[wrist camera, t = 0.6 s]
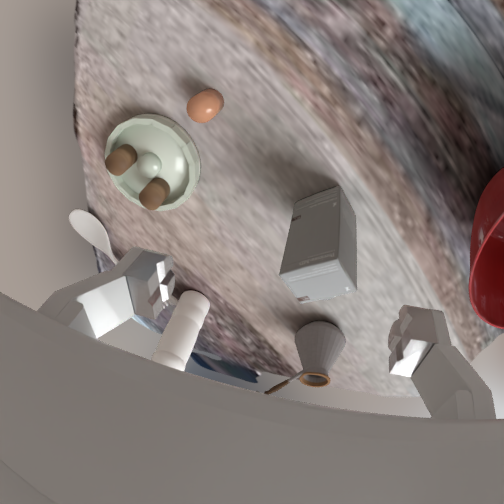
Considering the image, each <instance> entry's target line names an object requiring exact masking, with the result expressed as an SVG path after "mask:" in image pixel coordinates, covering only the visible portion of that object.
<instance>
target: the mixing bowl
mask: <svg viewBox="0 0 504 504" xmlns="http://www.w3.org/2000/svg"><path fill="white" fill-rule="evenodd" d="M469 297H470V302H471V305H472V307H473V309H474V311H475V312H476V314H477V315H478V316H479V317H480V318H481V319H482V320H483V321H485V322H486V323H488V324H490V325H492V326H494V327H497V328H502V329H504V167H503V168H502V169H501V170H500V171H499V172H498V173H496V174H495V175H494V177H493V178H492V179H491V180H490V182H489V183H488V184H487V186H486V188H485V189H484V191H483V193H482V195H481V197H480V200H479V202H478V205H477V208H476V212H475V217H474V222H473V227H472V235H471V246H470V278H469Z"/></svg>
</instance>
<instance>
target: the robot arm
mask: <svg viewBox="0 0 504 504" xmlns="http://www.w3.org/2000/svg"><path fill="white" fill-rule="evenodd" d="M172 266H173V258H172V256H170V255H168V254H164V253H160V252H156V251H152V250H148V249H144V248H140V247H132V248H131V249H130V250H129V251H128V252H127V253H126V255H125V256H124V257H123V258H122V259H121V260H120V261H119V262H118V263H117V264H116V265H115V266H114V268H113V269H112V270H111V271H104V272H102V273H99V274H97V275H94V276H92V277H89V278H87V279H84V280H82V281H79V282H77V283H74V284H72V285H69V286H67V287H65V288H62V289H60V290H57V291H55V292H54V293H53V294H52V295H51V296H50V297H49V298H48V299H47V301H46V302H45V303H44V304H43V305H42V306H41V307H40V308H39V309H38V311H35V310H33V309H31V308H29V307H27V306H25V305H23V304H21V303H19V302H17V301H16V300H14V299H12V298H10V297H8V296H7V295H5V294H3V293H1V292H0V504H504V419H496V415H495V409H494V403H493V398H492V393H491V390H490V389H489V387H488V386H487V385H486V384H485V382H484V381H483V380H482V379H481V377H480V376H479V375H478V374H477V372H476V371H475V370H474V369H473V367H472V366H471V365H470V364H469V363H468V361H467V360H466V359H465V358H464V357H463V355H462V354H461V353H460V352H459V351H458V349H457V348H456V347H455V346H451V341H450V337H449V332H448V328H447V324H446V320H445V316H444V313H443V312H442V311H439V310H433V309H425V308H420V307H414V306H409V305H403V306H402V307H401V309H400V311H399V319H398V320H396V321H395V322H394V323H393V325H392V327H391V330H390V333H389V339H388V348H389V349H390V350H391V352H392V353H391V355H390V357H389V373H392V374H398V375H404V376H410V377H411V379H412V381H413V383H414V385H415V387H416V388H417V390H418V392H419V394H420V396H421V397H422V399H423V401H424V403H425V405H426V407H427V409H428V410H429V412H430V414H431V416H432V417H431V418H420V417H405V416H396V415H385V414H377V413H369V412H360V411H353V410H347V409H340V408H334V407H328V406H321V405H316V404H310V403H305V402H300V401H295V400H290V399H285V398H280V397H276V396H272V395H267V394H263V393H259V392H255V391H251V390H247V389H243V388H239V387H235V386H232V385H228V384H224V383H221V382H217V381H213V380H210V379H207V378H203V377H200V376H196V375H193V374H190V373H187V372H184V371H181V370H178V369H175V368H172V367H169V366H166V365H163V364H160V363H157V362H154V361H151V360H148V359H146V358H143V357H140V356H138V355H135V354H132V353H129V352H127V351H124V350H122V349H119V348H117V347H114V346H112V345H109V344H107V343H104V342H102V341H100V340H97V338H98V337H100V336H102V335H103V334H105V333H106V332H108V331H110V330H111V329H113V328H115V327H116V326H118V325H120V324H121V323H123V322H124V321H126V320H128V319H129V318H131V317H133V316H134V315H135V314H137V315H140V316H143V317H147V318H150V319H154V320H155V319H156V318H157V316H158V315H159V313H160V312H161V310H162V309H163V301H166V300H168V299H169V298H170V296H171V294H172V292H173V289H174V286H175V275H174V273H173V272H172V271H171V268H172Z"/></svg>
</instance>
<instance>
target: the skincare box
mask: <svg viewBox="0 0 504 504" xmlns="http://www.w3.org/2000/svg"><path fill="white" fill-rule="evenodd" d="M279 276H280V277H281V278H282V280H283V281H284V282H285V284H286V285H287V286H288V288H289V289H290V290H291V291H292V293H293V294H294V295H295V297H296V298H297V299H298V301H299V302H300V303H301V304H302V303H307V302H312V301H316V300H329V299H332V298H333V297H335V296H339V295H344V294H348V293H353V292H356V291H357V240H356V215H355V213H354V211H353V209H352V207H351V205H350V203H349V202H348V200H347V198H346V196H345V194H344V192H343V190H342V188H341V187H340V185H338V186H336V187H334V188H331V189H328V190H325V191H322V192H320V193H317V194H314V195H312V196H309V197H307V198H305V199H302V200H300V201H298V202H296V203H295V206H294V211H293V215H292V220H291V224H290V229H289V233H288V238H287V242H286V247H285V251H284V256H283V260H282V264H281V269H280V273H279Z"/></svg>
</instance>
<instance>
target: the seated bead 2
mask: <svg viewBox="0 0 504 504" xmlns="http://www.w3.org/2000/svg"><path fill="white" fill-rule="evenodd" d="M169 194H170V186H169V184H168V183H167V181H165V180H164V179H162V178H159V177H156V178H153V179H152V180H151V181H150V182H149V183H148V184H147V185H146V186H145V188H144V189H143V190H142V191H141V192H140V193H139V200H140V203H141V204H142V205H143V206H144V207H145V208H147V209H149V210H156V209H158V208H159V206H160V205H161V204H162V203H163V201H164V200H165V199H166V198H167V196H168V195H169Z"/></svg>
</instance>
